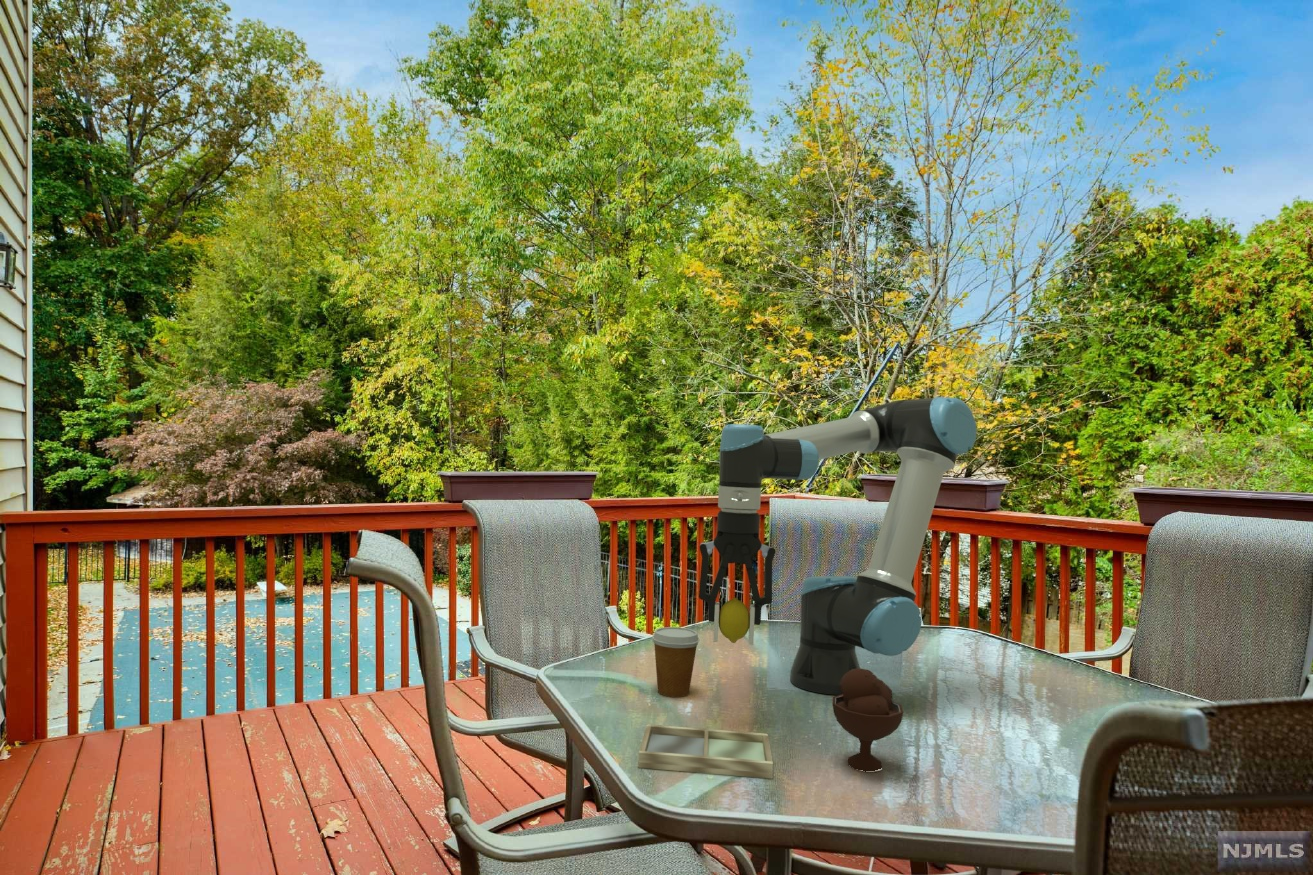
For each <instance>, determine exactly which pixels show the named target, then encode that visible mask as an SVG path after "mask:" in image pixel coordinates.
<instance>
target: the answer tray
mask: <svg viewBox="0 0 1313 875" xmlns="http://www.w3.org/2000/svg"><path fill="white" fill-rule="evenodd" d="M772 756H773V755H772V751H771V745H770V740H769V735H768V733H763V732H751V731H750V732H748V731H737V730H723V729H722V730H721V729H711V728H710V729H709V728H697V727H685V726H683V727H682V726H673V725H670V726H669V725H663V724H662V725H660V724H646V727H645V729H644V734H643V737H642V740H641V744H640V748H639V751H638V764H637V765H638V766H637V768H639V769H652V770H664V771H675V772H677V771H678V772H686V773H687V772H688V773H697V774H699V773H700V774H701V773H702V774H711V775H723V776H737V777H747V778H758V779H773V771H774V770H773V768H774V763H773V757H772Z"/></svg>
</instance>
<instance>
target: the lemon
mask: <svg viewBox="0 0 1313 875" xmlns="http://www.w3.org/2000/svg"><path fill="white" fill-rule="evenodd" d="M749 625H750V610H749V608H748V607H747V606H746V604H745V603H744V602H743V601H741V600H739V599H738V598H737V597H732V598H731V599H730V600H727V601H726V602H724V603H723V604H722V606H721V607H720V609H719V623H718V629H719V631H720V633H721V634H722V635H723V637H725V638H726V639H728V640H729V641H730V643H731V644H735V643H737V641H739V640H740V639H742V638H744V637H745V636H746V635H747V633H749Z"/></svg>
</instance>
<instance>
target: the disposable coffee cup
mask: <svg viewBox="0 0 1313 875" xmlns="http://www.w3.org/2000/svg"><path fill="white" fill-rule="evenodd" d="M698 636H699V635H698V631H696V630H694V629H691V628H685V627H678V626H677V627H675V626H668V627H667V626H666V627H659V628H656V629H655V630H654V633H653V635H652V636H651V637H652V638H651V639H652V640H653V641H652V642H653V644H654V656H655V658H654V659H655V670H656V671H655V672H656V682H657V686H656V687H657V692H658V694H660V695H661V696H665V697H670V698H682V697H686V696H688V695H689V694H690V689H691V683H692V678H693V670H694V665H695V658H696V653H697V647H698V645H699V642H700V638H699V637H698Z"/></svg>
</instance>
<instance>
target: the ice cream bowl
mask: <svg viewBox="0 0 1313 875" xmlns="http://www.w3.org/2000/svg"><path fill="white" fill-rule="evenodd" d="M839 685H840V687H841V691H842V693H843V694H841V695H834V696H832V710H833V714H834V717H835V720H836V721H837V723H838V724H839V725H840V726H841V727H842V729H843V730H844V731H846V732H847V733H849V735H851V736H853V737H855V738H856V739H858V742H859V743H860V744H859V752H858V753H855V754H853V755H850V756H848V758H847V760H846V762H847V763H848V765H847V766H849V765H850V766H851V767H850V766H849V767H850V768H852V767H853V768H854V769H853V768H852V769H853V770H856V769H858V770H857V771H859V770H863V771H865V772H864V773H867V772H866V771H875V770H878V769H881V768H883V763H882V761H881V760H880V759H878V758H877V757H876V756H875V755H873V754H872V744H873V742H875V741H879V740H882V739H884V738H886V737H887V736H890V735H891V734H892V733H894V732H895V731H897V729H898V728H899V727H900V725H901V723H902V720H903V716H904V710H903V706H902V704H900V703H898V702H896V701H893V690H892V689H891V687H889V686H888V685H887V684H886V682H884V681H883V680H882V679H880V678H878V677H877V676H876V674H874V673H873V672H872V671H871V670H869V669H865V668H861V667H860V668H857V669H852V670H850V671H849V672H847V673H846V674H845V675H844V676H843V677H842V679H841V682H840V684H839ZM863 771H862V772H863Z"/></svg>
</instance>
